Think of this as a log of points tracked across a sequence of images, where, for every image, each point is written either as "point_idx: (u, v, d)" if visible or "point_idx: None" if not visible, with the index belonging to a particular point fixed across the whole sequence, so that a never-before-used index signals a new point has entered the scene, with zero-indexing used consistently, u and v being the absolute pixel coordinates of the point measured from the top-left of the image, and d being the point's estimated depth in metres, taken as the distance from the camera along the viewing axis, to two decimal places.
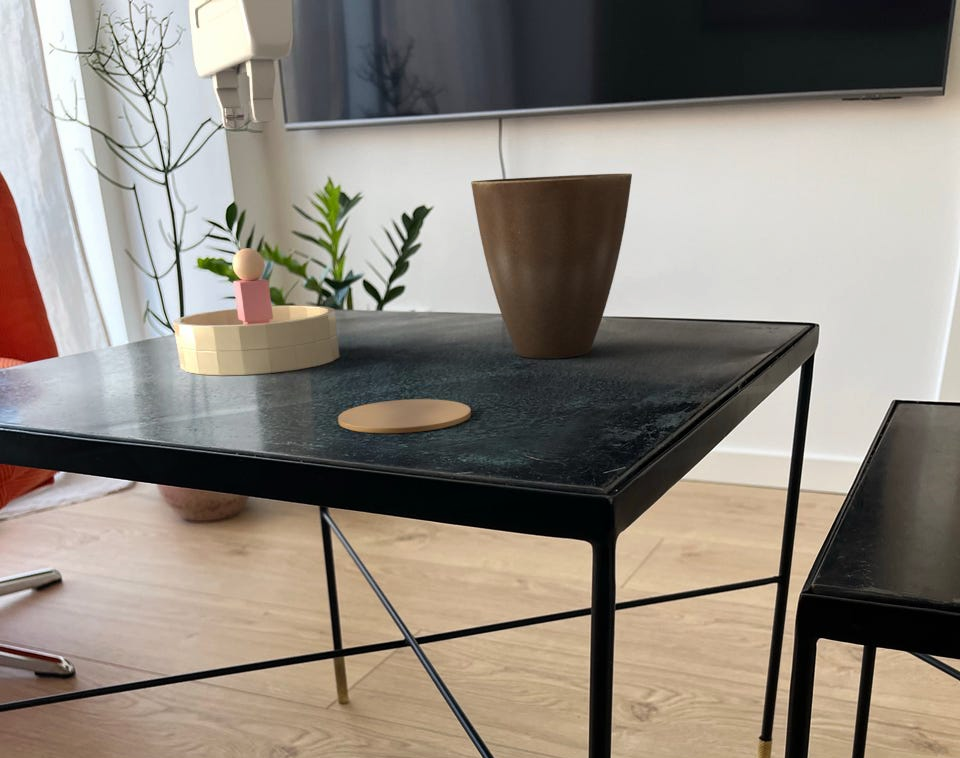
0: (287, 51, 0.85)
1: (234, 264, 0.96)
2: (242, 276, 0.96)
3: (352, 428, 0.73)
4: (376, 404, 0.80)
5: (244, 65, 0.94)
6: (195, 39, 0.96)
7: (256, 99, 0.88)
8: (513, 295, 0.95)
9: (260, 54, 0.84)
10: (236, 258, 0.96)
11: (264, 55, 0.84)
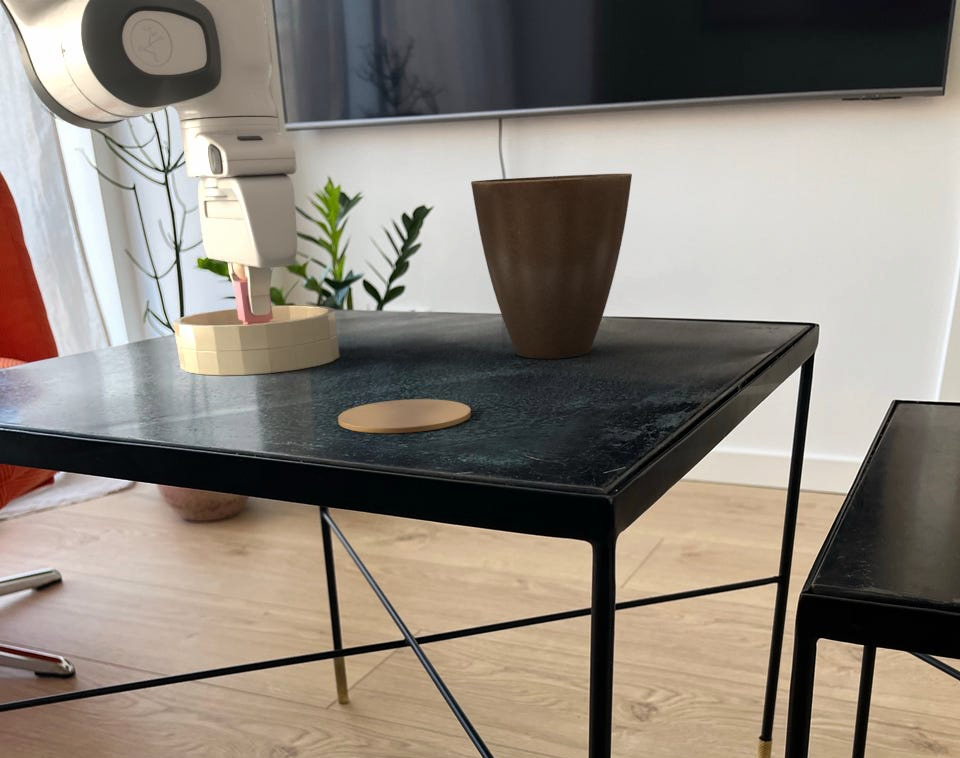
0: (292, 262, 0.89)
1: (234, 264, 0.96)
2: (242, 276, 0.96)
3: (352, 428, 0.73)
4: (376, 404, 0.80)
5: None
6: (204, 226, 1.01)
7: (254, 296, 0.96)
8: (513, 295, 0.95)
9: (266, 266, 0.89)
10: None
11: (270, 267, 0.89)
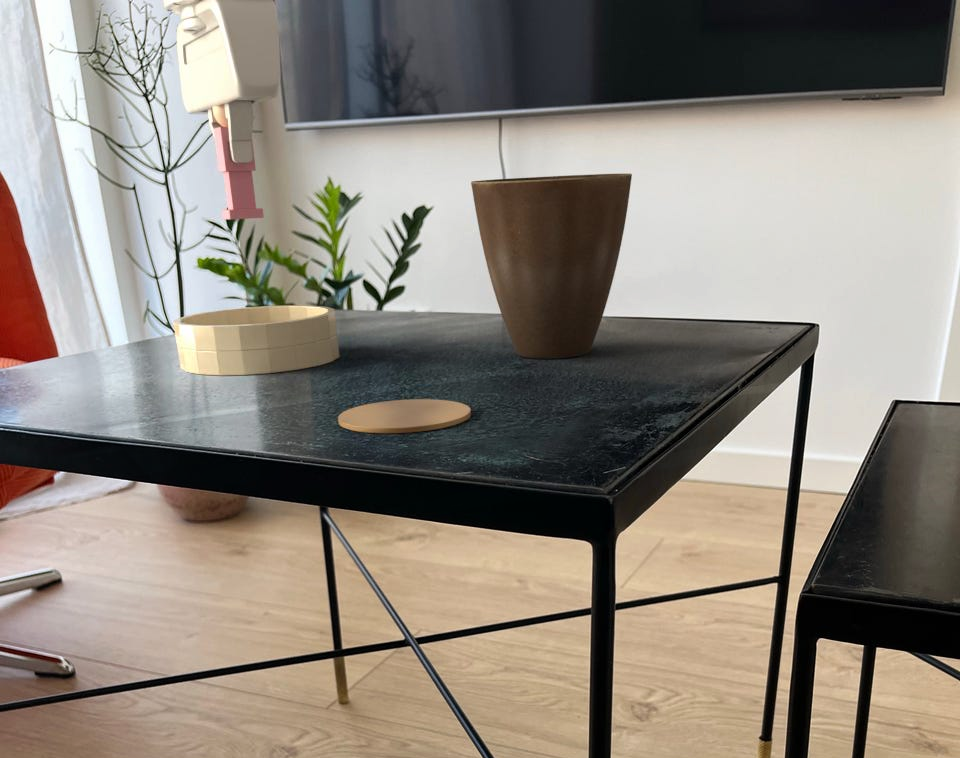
0: (275, 92, 0.84)
1: (214, 107, 0.90)
2: (223, 121, 0.90)
3: (352, 428, 0.73)
4: (376, 404, 0.80)
5: None
6: (183, 75, 0.95)
7: (235, 141, 0.90)
8: (513, 295, 0.95)
9: (247, 96, 0.83)
10: None
11: (251, 97, 0.83)
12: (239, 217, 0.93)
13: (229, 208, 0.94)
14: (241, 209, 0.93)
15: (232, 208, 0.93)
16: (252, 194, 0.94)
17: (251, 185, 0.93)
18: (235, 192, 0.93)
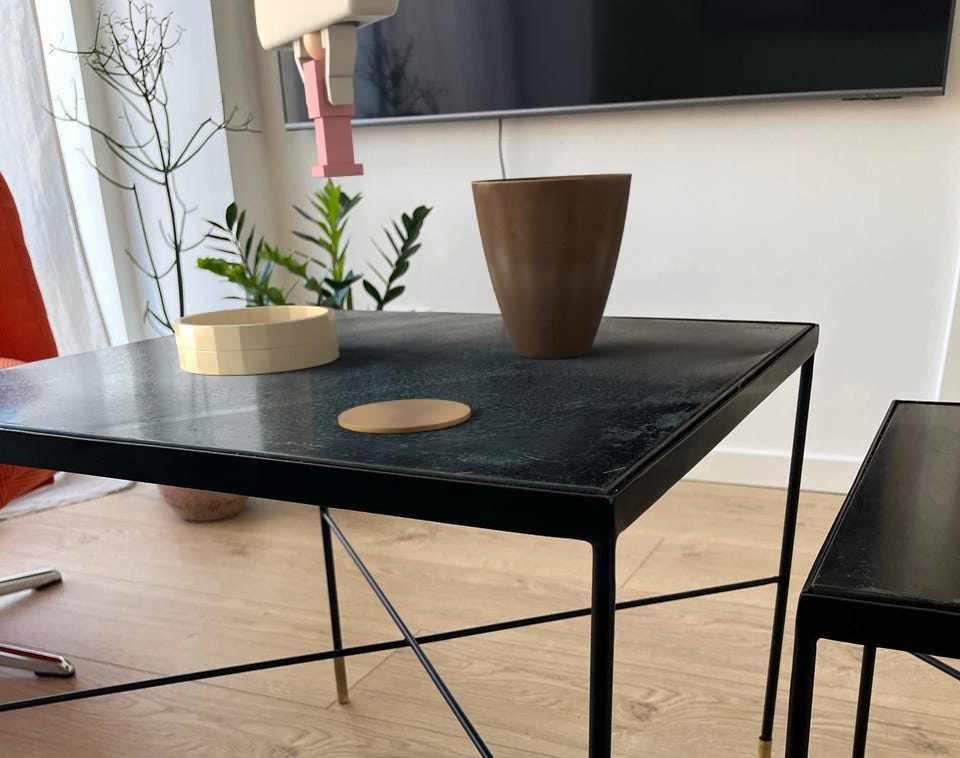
0: (393, 8, 0.65)
1: (306, 35, 0.72)
2: (317, 52, 0.72)
3: (352, 428, 0.73)
4: (376, 404, 0.80)
5: None
6: (260, 1, 0.77)
7: (333, 77, 0.72)
8: (513, 295, 0.95)
9: (360, 12, 0.65)
10: None
11: (364, 14, 0.65)
12: (335, 174, 0.75)
13: (321, 164, 0.76)
14: (337, 164, 0.75)
15: (326, 163, 0.75)
16: (350, 146, 0.75)
17: (349, 134, 0.75)
18: (330, 143, 0.75)
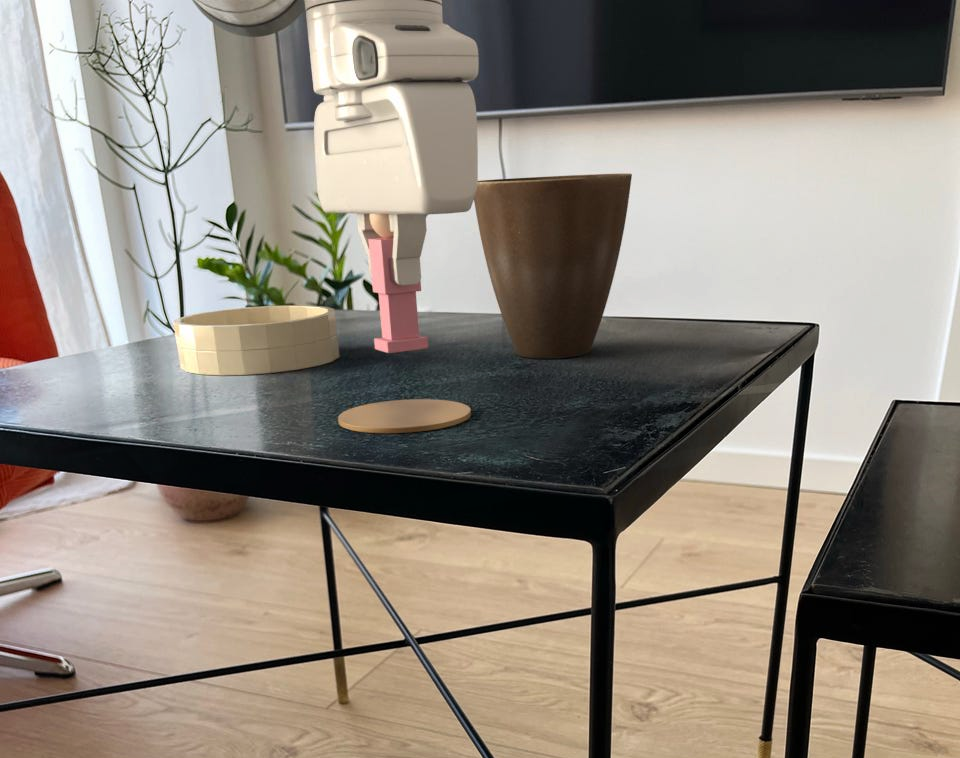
0: (468, 206, 0.63)
1: (373, 215, 0.70)
2: (383, 231, 0.70)
3: (352, 428, 0.73)
4: (376, 404, 0.80)
5: None
6: (322, 167, 0.75)
7: (400, 259, 0.69)
8: (513, 295, 0.95)
9: (434, 212, 0.62)
10: None
11: (439, 213, 0.63)
12: (399, 349, 0.73)
13: (384, 337, 0.74)
14: (402, 340, 0.73)
15: (390, 338, 0.73)
16: (415, 320, 0.73)
17: (414, 309, 0.73)
18: (395, 319, 0.73)
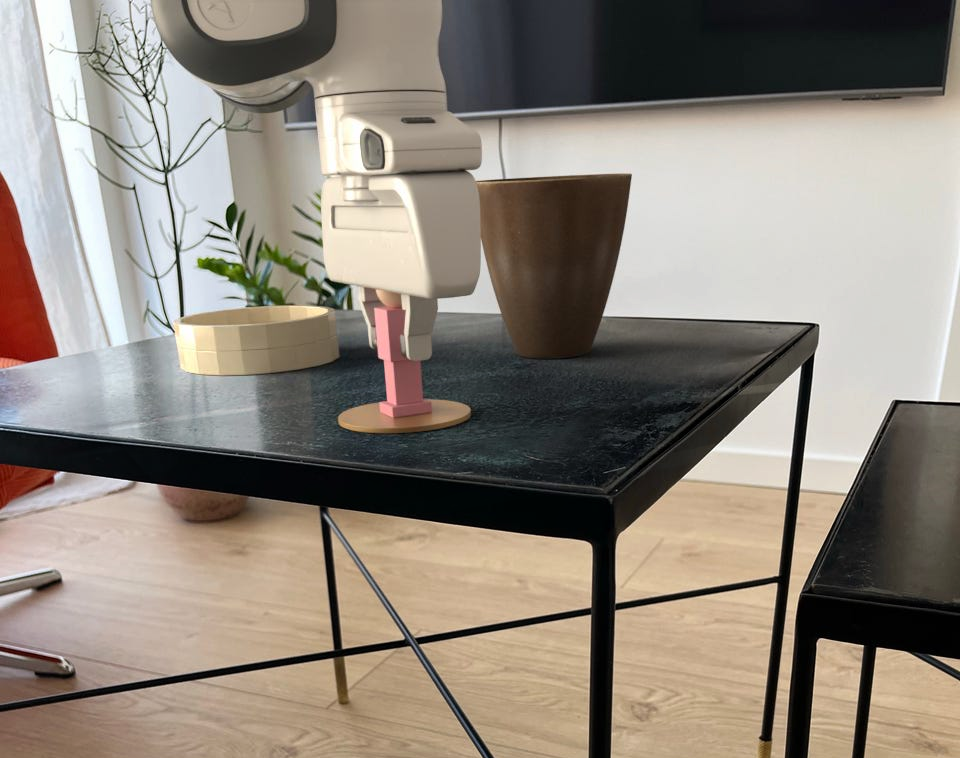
0: (471, 290, 0.65)
1: None
2: (389, 302, 0.72)
3: (352, 428, 0.73)
4: (376, 404, 0.80)
5: None
6: (328, 239, 0.77)
7: (412, 336, 0.70)
8: (513, 295, 0.95)
9: (439, 297, 0.65)
10: None
11: (443, 297, 0.65)
12: (404, 414, 0.75)
13: (389, 401, 0.76)
14: (406, 405, 0.75)
15: (395, 403, 0.75)
16: (419, 385, 0.75)
17: (419, 375, 0.75)
18: (400, 385, 0.74)
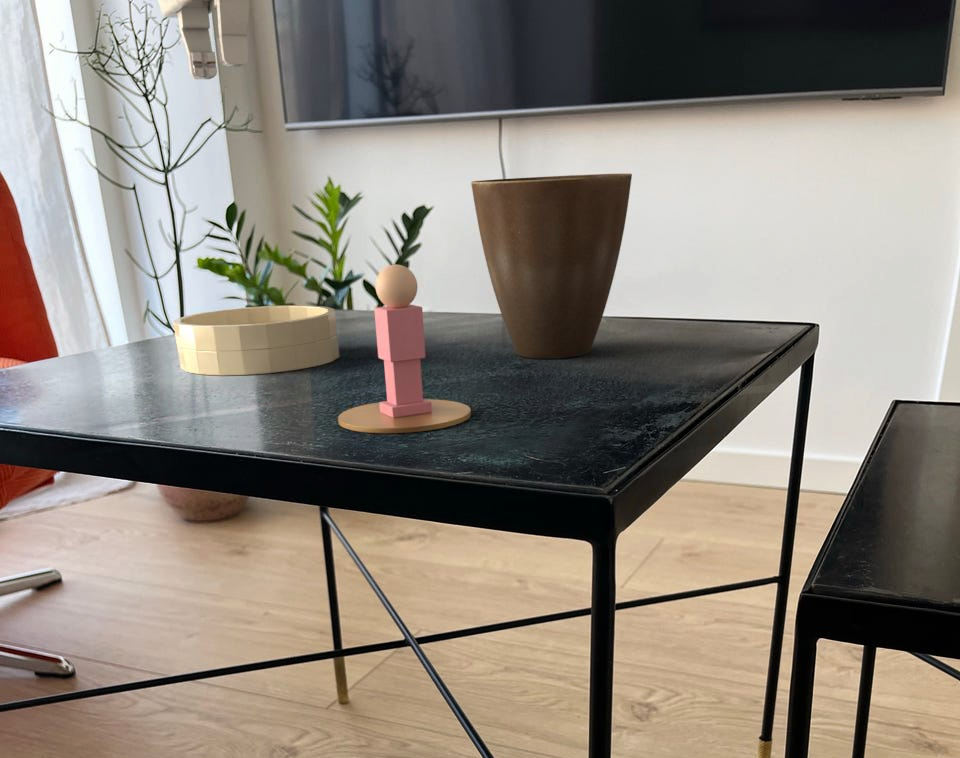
0: None
1: (379, 286, 0.72)
2: (389, 302, 0.72)
3: (352, 428, 0.73)
4: (376, 404, 0.80)
5: None
6: None
7: (226, 35, 0.70)
8: (513, 295, 0.95)
9: None
10: (383, 278, 0.71)
11: None
12: (404, 414, 0.75)
13: (389, 401, 0.76)
14: (406, 405, 0.75)
15: (395, 403, 0.75)
16: (419, 385, 0.75)
17: (419, 375, 0.75)
18: (400, 385, 0.74)
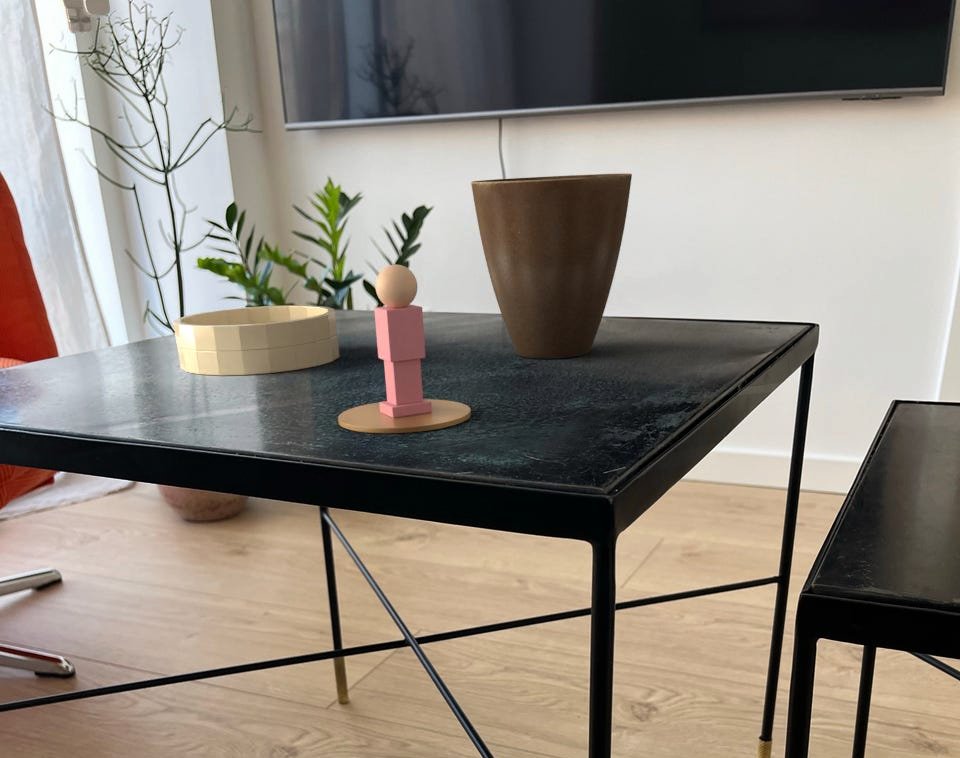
0: None
1: (379, 286, 0.72)
2: (389, 302, 0.72)
3: (352, 428, 0.73)
4: (376, 404, 0.80)
5: None
6: None
7: None
8: (513, 295, 0.95)
9: None
10: (383, 278, 0.71)
11: None
12: (404, 414, 0.75)
13: (389, 401, 0.76)
14: (406, 405, 0.75)
15: (395, 403, 0.75)
16: (419, 385, 0.75)
17: (419, 375, 0.75)
18: (400, 385, 0.74)
